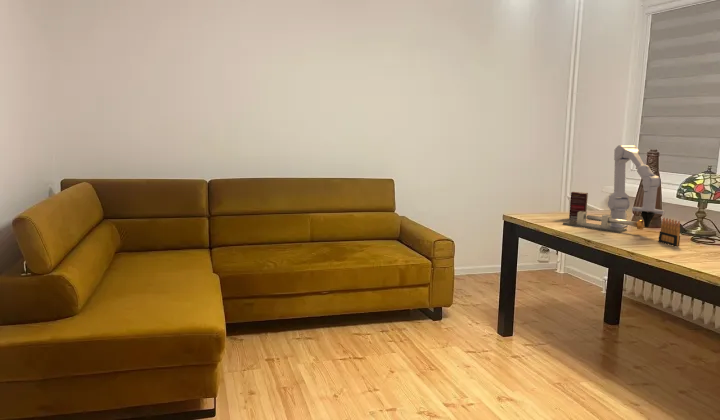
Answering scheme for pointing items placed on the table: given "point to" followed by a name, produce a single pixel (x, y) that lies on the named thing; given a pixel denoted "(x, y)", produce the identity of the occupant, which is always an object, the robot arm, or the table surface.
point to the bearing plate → (604, 224)
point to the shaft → (619, 221)
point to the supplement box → (577, 204)
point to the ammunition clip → (670, 232)
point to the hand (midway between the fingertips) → (646, 226)
